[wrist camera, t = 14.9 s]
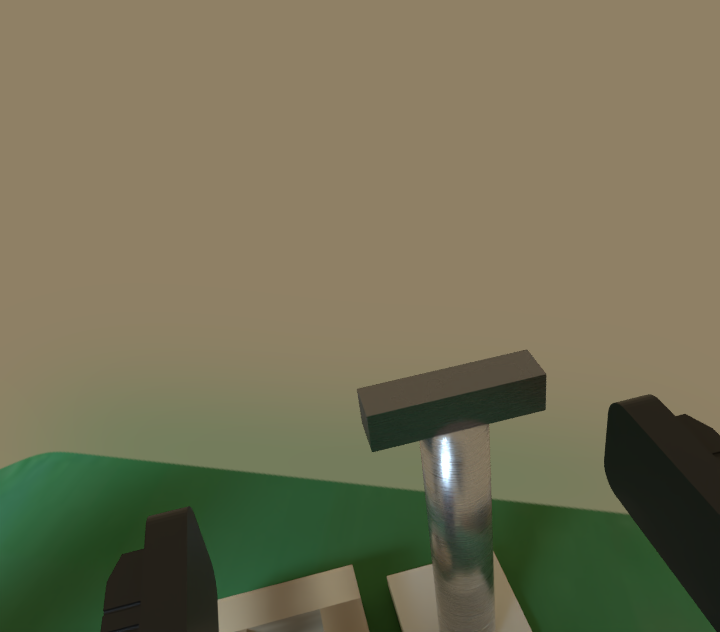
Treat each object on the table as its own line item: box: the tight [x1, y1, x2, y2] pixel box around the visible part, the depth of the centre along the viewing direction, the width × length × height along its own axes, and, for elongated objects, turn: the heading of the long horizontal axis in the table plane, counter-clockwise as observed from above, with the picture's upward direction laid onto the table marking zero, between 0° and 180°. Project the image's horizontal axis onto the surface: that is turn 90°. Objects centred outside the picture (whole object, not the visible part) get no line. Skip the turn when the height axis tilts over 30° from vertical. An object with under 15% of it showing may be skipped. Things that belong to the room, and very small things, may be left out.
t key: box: [357, 350, 546, 632], centre depth 35 cm, size 8×3×18 cm, turn 103°
